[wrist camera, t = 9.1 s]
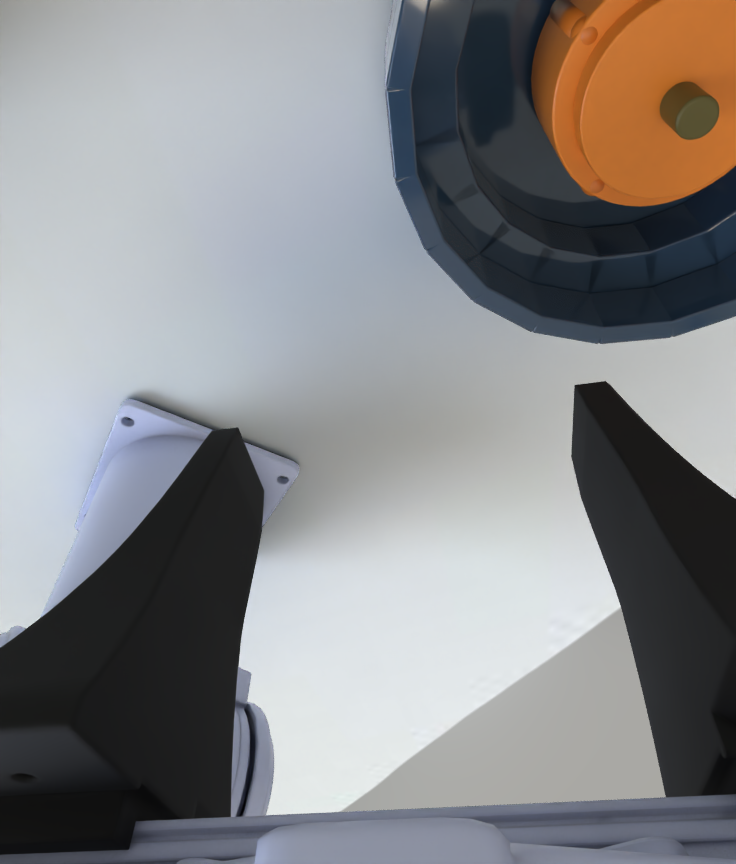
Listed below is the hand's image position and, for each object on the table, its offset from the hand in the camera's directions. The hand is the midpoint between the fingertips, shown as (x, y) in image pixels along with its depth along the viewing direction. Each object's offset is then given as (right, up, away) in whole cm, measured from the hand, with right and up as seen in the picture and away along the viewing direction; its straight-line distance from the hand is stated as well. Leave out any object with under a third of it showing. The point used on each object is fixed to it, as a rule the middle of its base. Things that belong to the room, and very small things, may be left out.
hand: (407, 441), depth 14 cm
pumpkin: (+6, +10, +4) cm, 13 cm away
